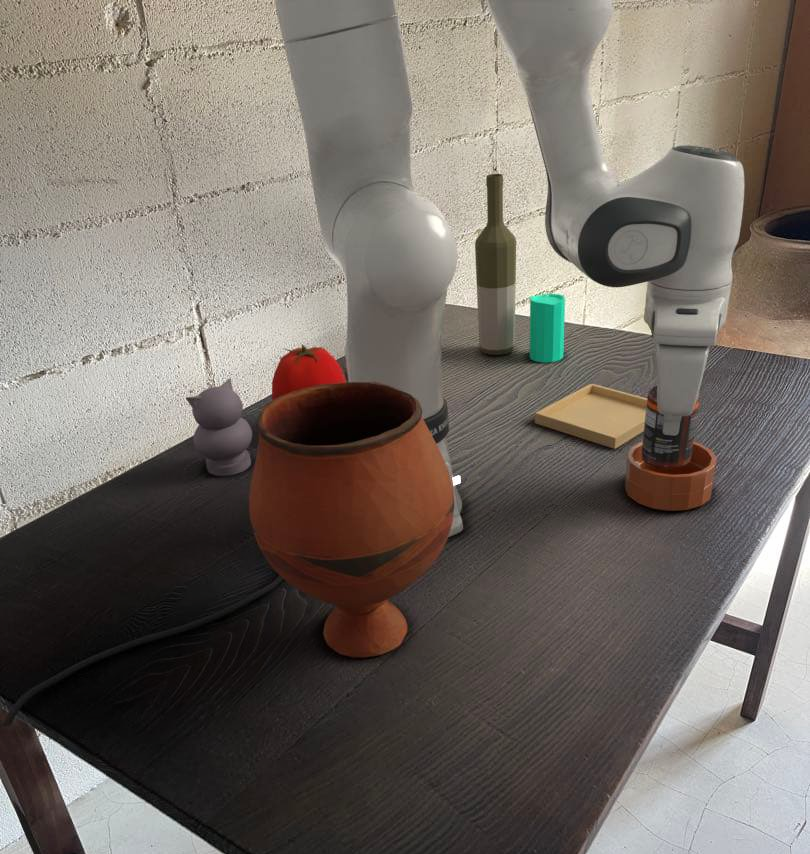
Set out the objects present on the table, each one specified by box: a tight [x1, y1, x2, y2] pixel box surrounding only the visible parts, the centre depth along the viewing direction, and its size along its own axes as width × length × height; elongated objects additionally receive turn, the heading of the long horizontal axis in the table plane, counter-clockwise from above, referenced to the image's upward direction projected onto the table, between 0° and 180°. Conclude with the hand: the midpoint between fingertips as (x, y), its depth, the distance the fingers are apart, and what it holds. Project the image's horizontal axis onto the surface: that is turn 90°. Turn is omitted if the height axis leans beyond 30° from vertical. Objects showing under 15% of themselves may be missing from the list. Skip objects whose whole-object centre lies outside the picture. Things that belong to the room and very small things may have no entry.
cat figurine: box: [185, 377, 253, 477], centre depth 117 cm, size 9×8×12 cm
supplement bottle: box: [642, 385, 700, 469], centre depth 99 cm, size 6×6×11 cm
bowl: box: [624, 441, 718, 512], centre depth 103 cm, size 10×10×5 cm
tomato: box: [271, 343, 346, 401], centre depth 125 cm, size 12×12×13 cm
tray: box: [534, 383, 647, 450], centre depth 123 cm, size 14×14×2 cm
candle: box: [529, 288, 566, 363], centre depth 144 cm, size 6×6×12 cm
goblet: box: [248, 381, 454, 659], centre depth 79 cm, size 19×19×25 cm
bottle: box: [474, 173, 517, 356], centre depth 143 cm, size 7×7×30 cm
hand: (670, 420), depth 99 cm, fingers closed on supplement bottle, 6 cm apart
